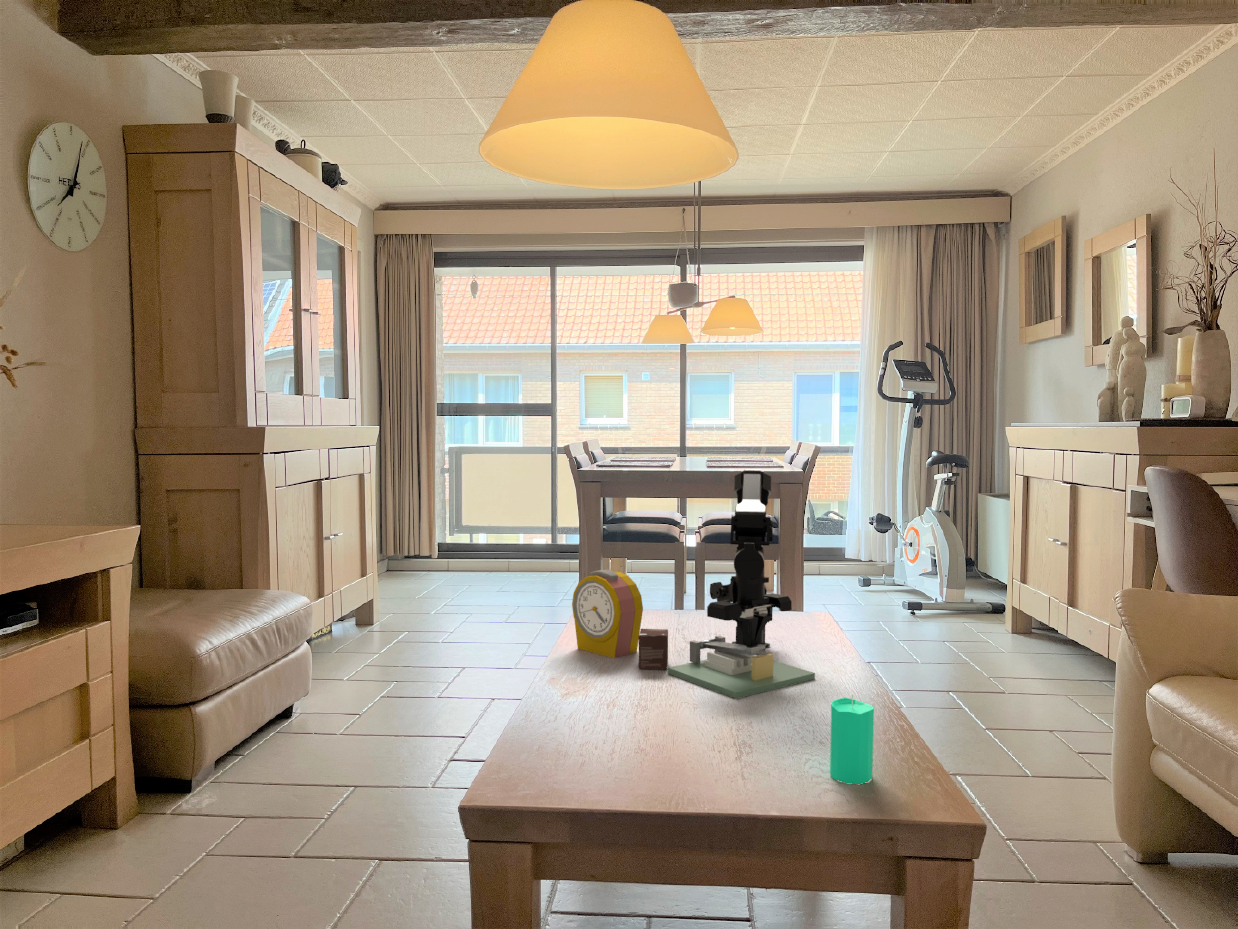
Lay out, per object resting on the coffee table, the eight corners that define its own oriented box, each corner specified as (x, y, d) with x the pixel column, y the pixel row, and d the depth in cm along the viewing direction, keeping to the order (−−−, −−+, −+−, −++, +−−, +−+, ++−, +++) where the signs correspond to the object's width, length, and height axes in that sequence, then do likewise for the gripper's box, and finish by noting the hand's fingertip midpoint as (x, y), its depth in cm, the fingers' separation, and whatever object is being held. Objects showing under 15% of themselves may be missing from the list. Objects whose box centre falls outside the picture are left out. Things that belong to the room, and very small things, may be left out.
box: (668, 662, 180) (668, 629, 180) (667, 670, 174) (667, 636, 174) (640, 661, 181) (640, 628, 181) (638, 669, 175) (638, 635, 175)
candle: (823, 768, 124) (825, 688, 124) (863, 767, 125) (864, 688, 124) (837, 785, 118) (839, 702, 118) (879, 784, 119) (880, 701, 118)
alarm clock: (570, 647, 192) (570, 568, 191) (595, 641, 198) (595, 564, 197) (617, 660, 182) (618, 576, 181) (642, 653, 188) (643, 571, 187)
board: (741, 655, 186) (741, 631, 186) (814, 678, 169) (815, 652, 169) (664, 672, 173) (665, 645, 173) (736, 698, 156) (736, 669, 156)
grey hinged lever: (714, 645, 181) (713, 636, 181) (767, 654, 168) (767, 644, 168) (696, 649, 178) (696, 640, 178) (749, 658, 165) (749, 648, 165)
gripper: (753, 563, 180) (754, 636, 180) (688, 571, 169) (688, 648, 169) (793, 569, 171) (793, 645, 171) (726, 578, 160) (727, 659, 160)
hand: (750, 649), depth 168 cm, fingers closed, pressing on grey hinged lever
